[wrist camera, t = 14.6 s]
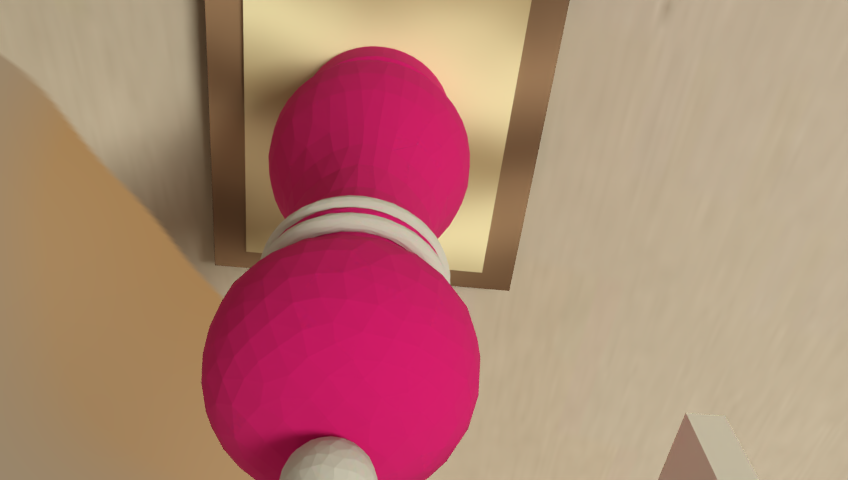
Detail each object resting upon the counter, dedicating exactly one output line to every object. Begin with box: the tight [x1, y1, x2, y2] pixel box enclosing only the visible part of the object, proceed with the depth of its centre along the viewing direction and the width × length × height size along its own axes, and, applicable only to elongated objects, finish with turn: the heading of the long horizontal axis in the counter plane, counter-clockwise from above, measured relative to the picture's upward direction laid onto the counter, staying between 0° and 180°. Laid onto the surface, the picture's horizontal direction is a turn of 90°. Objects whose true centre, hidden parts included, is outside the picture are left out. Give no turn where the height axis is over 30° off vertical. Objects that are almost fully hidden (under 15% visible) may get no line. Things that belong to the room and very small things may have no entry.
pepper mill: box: [202, 46, 480, 480], centre depth 20 cm, size 7×7×20 cm
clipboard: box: [205, 0, 570, 291], centre depth 29 cm, size 16×14×2 cm
